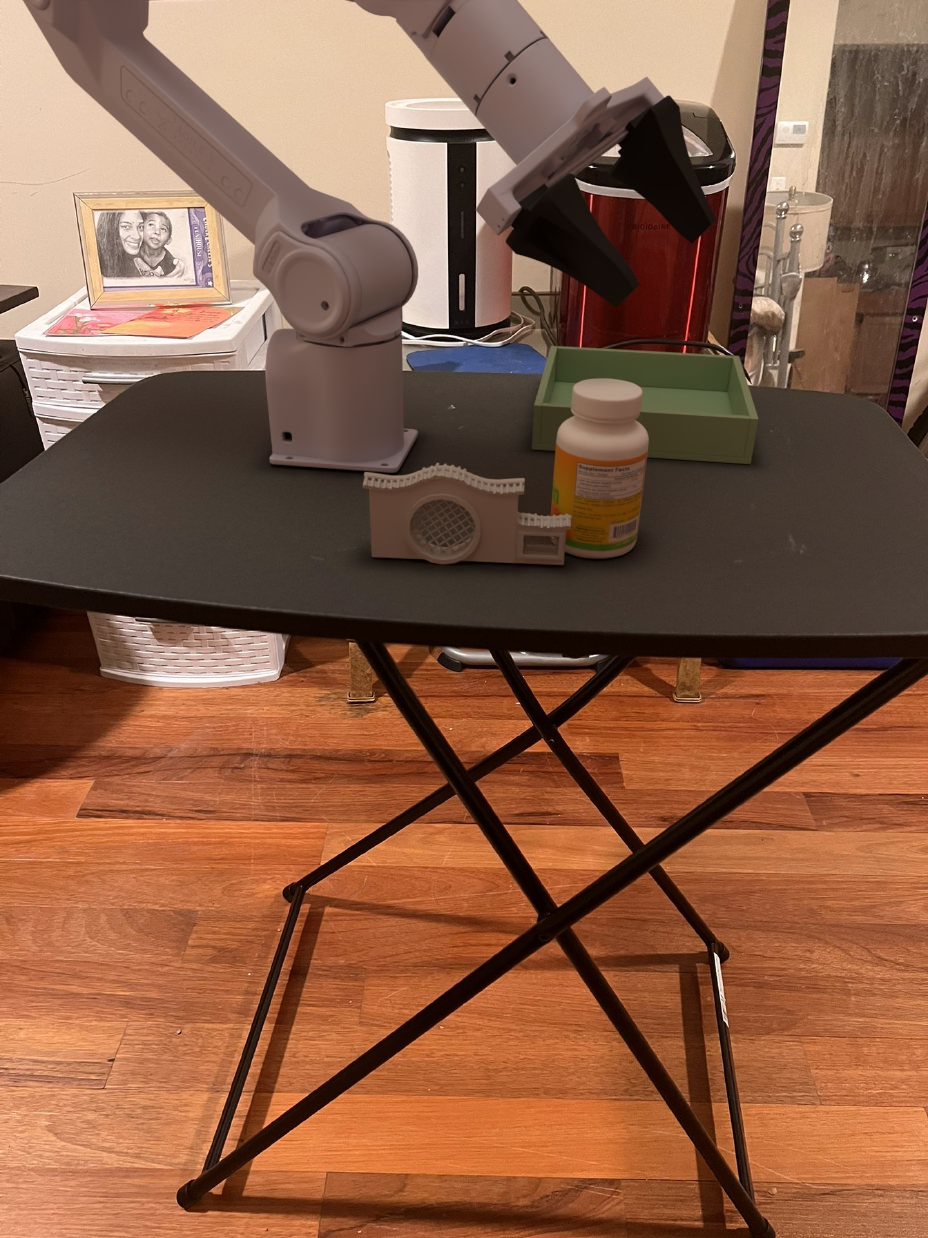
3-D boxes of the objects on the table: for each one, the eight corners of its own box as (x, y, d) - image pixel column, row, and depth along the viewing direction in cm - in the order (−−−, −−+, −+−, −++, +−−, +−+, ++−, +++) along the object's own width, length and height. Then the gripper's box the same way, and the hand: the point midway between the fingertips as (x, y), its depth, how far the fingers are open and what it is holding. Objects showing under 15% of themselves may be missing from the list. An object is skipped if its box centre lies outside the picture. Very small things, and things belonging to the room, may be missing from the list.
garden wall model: (567, 556, 59) (574, 464, 56) (568, 570, 57) (575, 476, 54) (370, 548, 59) (366, 456, 56) (365, 561, 58) (361, 468, 55)
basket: (531, 449, 74) (533, 404, 72) (548, 384, 87) (551, 345, 85) (750, 464, 72) (758, 418, 70) (733, 395, 85) (739, 355, 83)
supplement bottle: (553, 518, 63) (565, 370, 58) (637, 526, 62) (656, 377, 57) (544, 555, 59) (555, 399, 54) (634, 565, 58) (654, 407, 53)
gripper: (451, 84, 49) (625, 290, 50) (623, -25, 55) (777, 162, 56) (411, 171, 56) (566, 352, 57) (569, 66, 61) (708, 233, 62)
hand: (667, 263), depth 57 cm, fingers open, 7 cm apart
